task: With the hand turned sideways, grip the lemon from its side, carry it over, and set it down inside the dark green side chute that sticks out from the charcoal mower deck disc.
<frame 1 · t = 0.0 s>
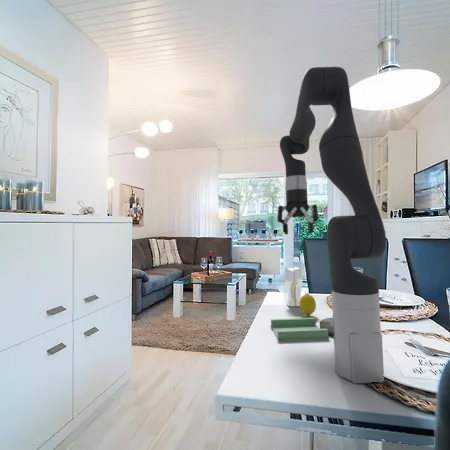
hand: (298, 233, 109), 29 cm above the table, tool pointing down, fingers open, 8 cm apart
lemon: (308, 316, 108), on the table
side chute: (297, 332, 91), on the table
beer glass: (294, 305, 124), on the table
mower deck: (344, 330, 91), on the table
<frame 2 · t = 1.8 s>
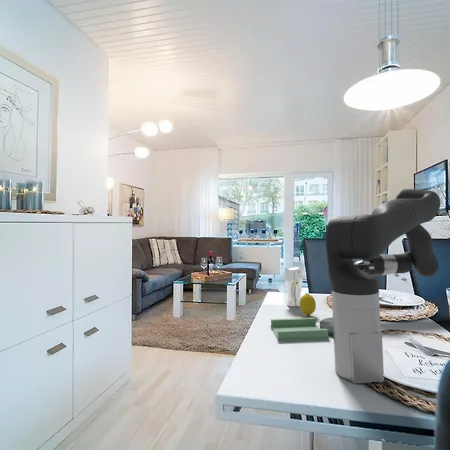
hand: (336, 266, 109), 17 cm above the table, tool horizontal, fingers open, 8 cm apart
nothing on the table moved.
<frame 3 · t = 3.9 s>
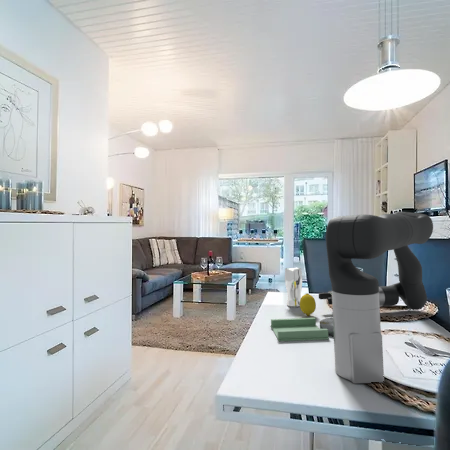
hand: (323, 298, 108), 6 cm above the table, tool horizontal, fingers open, 8 cm apart
nothing on the table moved.
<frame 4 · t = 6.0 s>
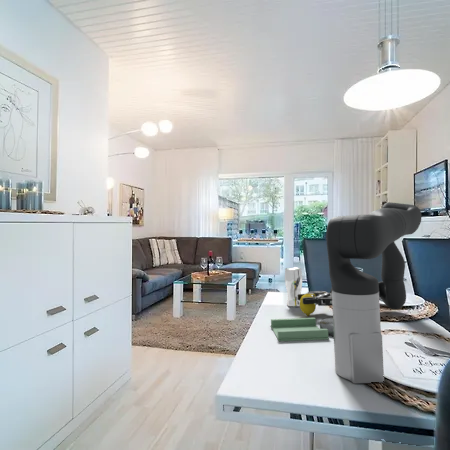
hand: (300, 299, 108), 6 cm above the table, tool horizontal, fingers closed on lemon, 5 cm apart
lemon: (308, 316, 108), on the table, touching gripper
everything else where it was.
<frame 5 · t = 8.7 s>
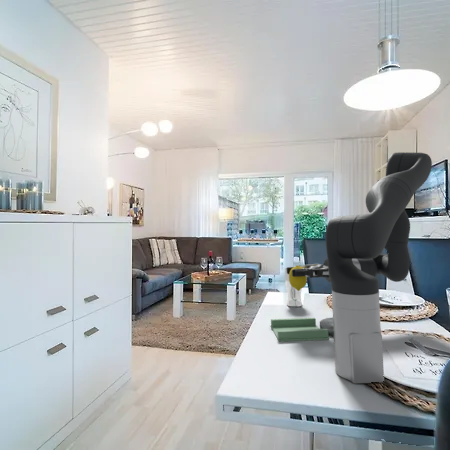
hand: (289, 271, 95), 18 cm above the table, tool horizontal, fingers closed on lemon, 5 cm apart
lemon: (298, 291, 95), point 11 cm above the table, touching gripper
everything else where it was.
when the fingers open (8 cm above the table, at t = 11.4 s): lemon drops 2 cm, resting on side chute.
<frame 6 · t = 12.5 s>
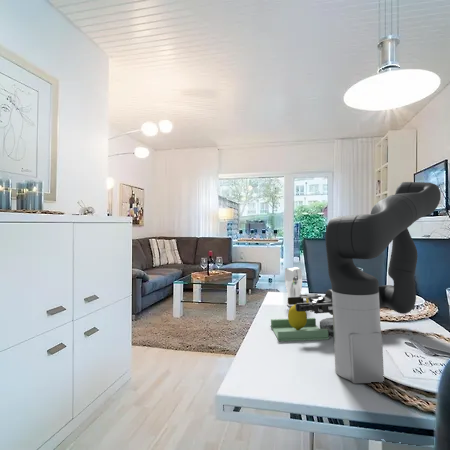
hand: (291, 304, 91), 8 cm above the table, tool horizontal, fingers open, 8 cm apart
lemon: (298, 331, 91), resting on side chute
everything else where it was.
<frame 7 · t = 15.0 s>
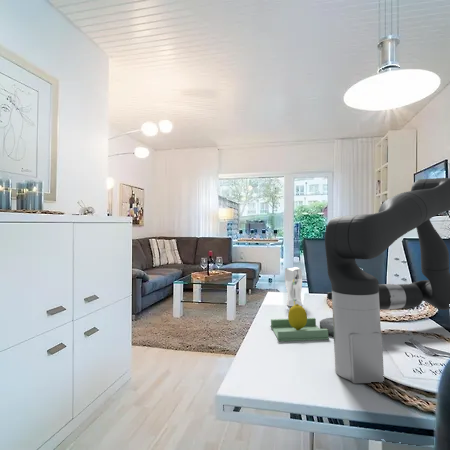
hand: (333, 298, 92), 9 cm above the table, tool horizontal, fingers open, 8 cm apart
nothing on the table moved.
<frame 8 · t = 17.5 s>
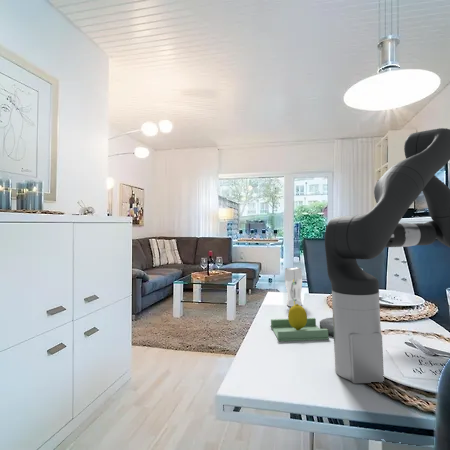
hand: (349, 236, 95), 28 cm above the table, tool horizontal, fingers open, 8 cm apart
nothing on the table moved.
at the end: lemon inside the target area on the side chute (0.2 cm from its centre), point 0.2 cm above the side chute's base; the gripper is holding nothing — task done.
